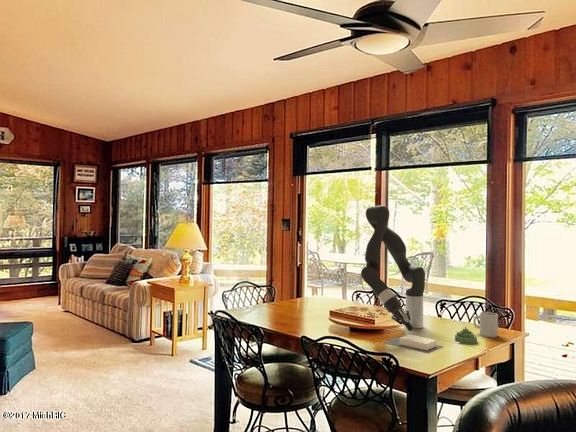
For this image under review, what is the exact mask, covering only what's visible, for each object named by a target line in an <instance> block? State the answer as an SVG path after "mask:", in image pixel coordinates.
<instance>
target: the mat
mask: <svg viewBox="0 0 576 432" xmlns="http://www.w3.org/2000/svg"><path fill="white" fill-rule="evenodd" d="M399 338H401V336H397V337H394V338H392V339H388V340H386V341H383V342H382V344H384V345H385V344H386V345H390V346H395V347H397V348H398V347H399V348H403V349H407V350H412V351H415V352H416V351H417V352H420V353H424V354H430V353H433V352H435V351H438V350H440V349H442V348H445V346H444V345H439V344H437V346H436V347H434V348H432V349H429V350H427V351H426V350H422V349H417V348H413V347H408V346H404V345H400V344H399Z"/></svg>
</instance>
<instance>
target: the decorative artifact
mask: <svg viewBox="0 0 576 432" xmlns="http://www.w3.org/2000/svg"><path fill="white" fill-rule="evenodd" d="M454 341H455V342H459V343H460V344H465V345H475V344H477V343H478V336H477V335H475V334H474V332H473V331H472V330H469V328H467V326H464V328H462V330H460V331H456V334H454Z"/></svg>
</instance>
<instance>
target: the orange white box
mask: <svg viewBox="0 0 576 432" xmlns="http://www.w3.org/2000/svg"><path fill="white" fill-rule="evenodd" d="M400 337H401V336H400ZM437 341H438V340H437V339H433V338H429V337H423V336H419V335H414V334H407V335H405V336H402V337H401V338H399V344H400V345H404V346H408V347H413V348H417V349H422V350H426V351H427V350H429V349H432V348H434V347H436V346H437V345H438V342H437Z"/></svg>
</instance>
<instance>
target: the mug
mask: <svg viewBox="0 0 576 432" xmlns="http://www.w3.org/2000/svg"><path fill="white" fill-rule="evenodd" d="M477 319H479V325H478V324H477V323H476V321H477ZM473 326H474V328H476V329H479V335H480V336H482V337H485V338H486V337H487V338H498V337H499V315H498V313H495V312H491V311H482V312H480V313H479V314H476V315H474V316H473ZM497 336H498V337H497Z"/></svg>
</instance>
